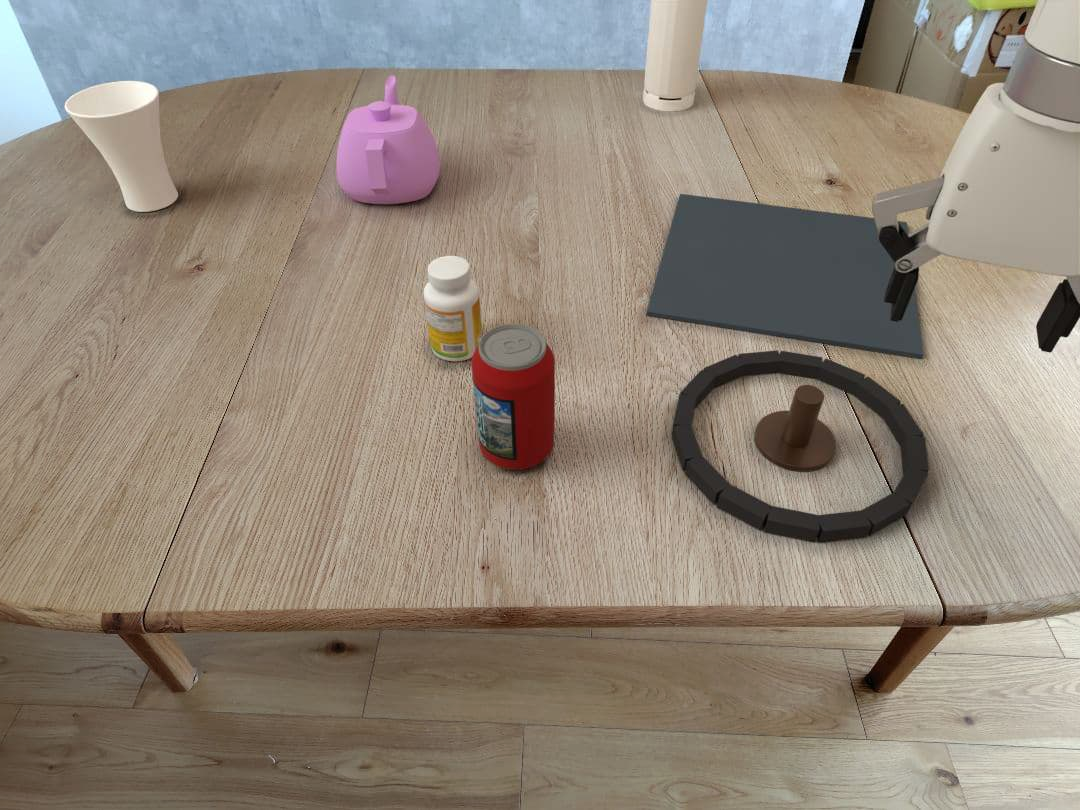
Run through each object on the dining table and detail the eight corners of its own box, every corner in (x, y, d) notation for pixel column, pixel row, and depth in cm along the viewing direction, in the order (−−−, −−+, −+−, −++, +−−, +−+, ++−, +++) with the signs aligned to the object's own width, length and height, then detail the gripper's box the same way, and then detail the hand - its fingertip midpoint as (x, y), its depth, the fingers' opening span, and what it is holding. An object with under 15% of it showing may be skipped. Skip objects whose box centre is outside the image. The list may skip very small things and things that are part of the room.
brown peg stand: (834, 422, 71) (852, 374, 67) (834, 478, 66) (853, 430, 62) (757, 409, 72) (770, 360, 68) (751, 463, 67) (765, 414, 63)
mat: (905, 226, 95) (906, 221, 95) (922, 359, 77) (924, 354, 77) (679, 197, 100) (680, 193, 100) (646, 315, 83) (646, 311, 82)
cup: (146, 175, 106) (107, 76, 96) (210, 187, 103) (176, 86, 94) (91, 212, 99) (43, 109, 89) (158, 226, 96) (116, 122, 87)
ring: (912, 384, 74) (917, 372, 73) (931, 567, 60) (939, 555, 58) (689, 347, 79) (691, 335, 78) (655, 509, 64) (657, 497, 63)
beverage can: (469, 431, 70) (459, 329, 62) (538, 412, 72) (537, 310, 64) (492, 484, 66) (484, 381, 57) (565, 463, 68) (568, 360, 59)
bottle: (669, 116, 118) (694, -97, 99) (631, 100, 123) (647, -107, 103) (704, 101, 122) (734, -107, 102) (666, 86, 126) (687, -116, 107)
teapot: (447, 149, 111) (439, 70, 103) (436, 221, 97) (426, 137, 89) (354, 150, 111) (340, 72, 103) (329, 223, 97) (310, 138, 89)
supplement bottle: (463, 323, 82) (455, 244, 75) (493, 347, 79) (488, 268, 72) (420, 343, 79) (408, 264, 73) (450, 370, 76) (440, 290, 70)
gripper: (1250, 76, 43) (1097, 320, 55) (919, 40, 47) (845, 272, 59) (1289, 132, 38) (1112, 387, 50) (916, 86, 42) (836, 329, 54)
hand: (967, 324), depth 54 cm, fingers open, 9 cm apart
